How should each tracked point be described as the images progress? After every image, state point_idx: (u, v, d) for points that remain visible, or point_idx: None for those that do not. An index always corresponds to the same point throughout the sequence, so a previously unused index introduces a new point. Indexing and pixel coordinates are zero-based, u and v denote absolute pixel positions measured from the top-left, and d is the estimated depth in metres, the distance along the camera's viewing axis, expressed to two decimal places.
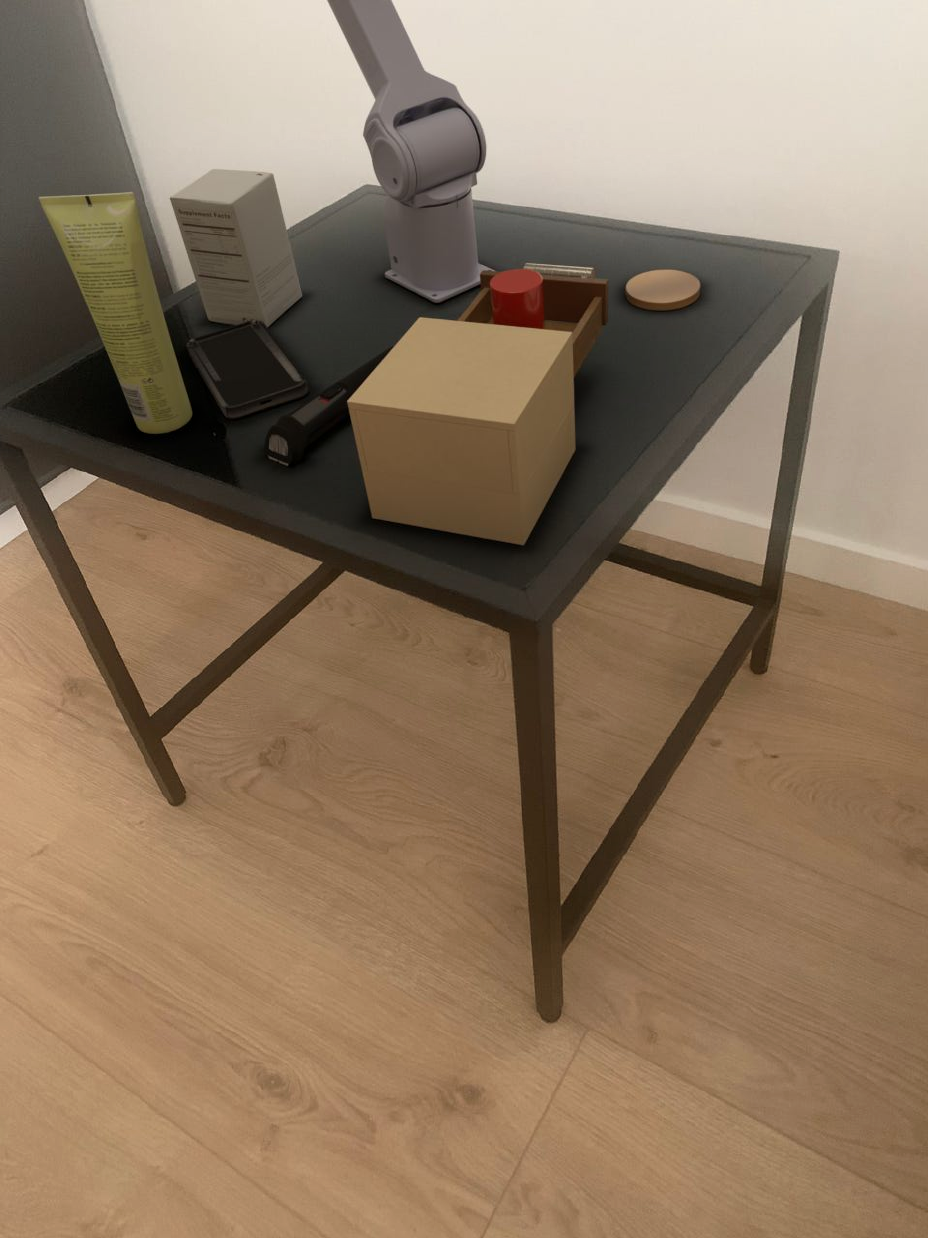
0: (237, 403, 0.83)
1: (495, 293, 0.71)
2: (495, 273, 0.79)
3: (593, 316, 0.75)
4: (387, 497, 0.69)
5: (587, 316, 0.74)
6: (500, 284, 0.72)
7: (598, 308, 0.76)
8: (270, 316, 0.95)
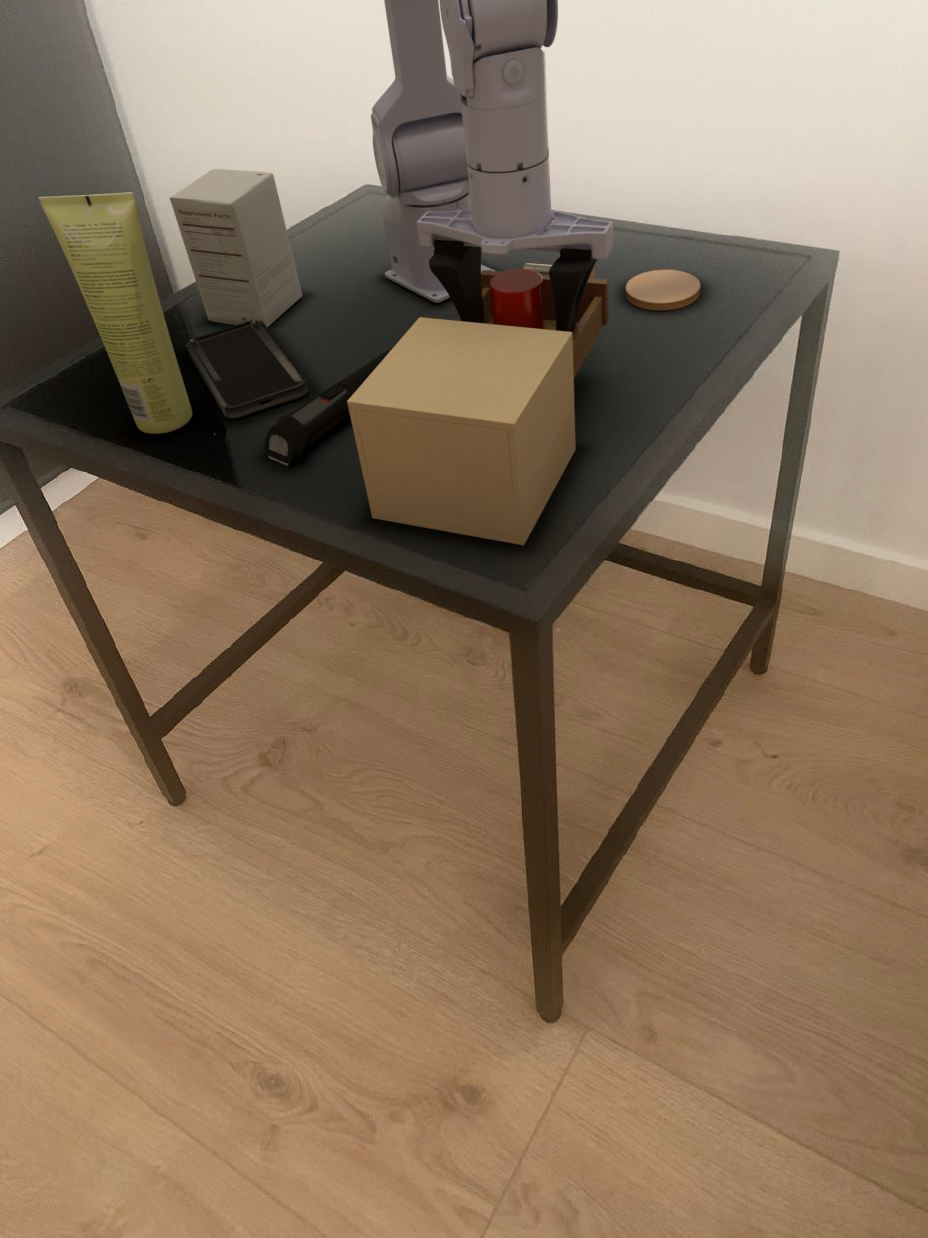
0: (237, 403, 0.83)
1: (495, 293, 0.71)
2: (495, 273, 0.79)
3: (593, 316, 0.75)
4: (387, 497, 0.69)
5: (587, 316, 0.74)
6: (500, 284, 0.72)
7: (598, 308, 0.76)
8: (270, 316, 0.95)
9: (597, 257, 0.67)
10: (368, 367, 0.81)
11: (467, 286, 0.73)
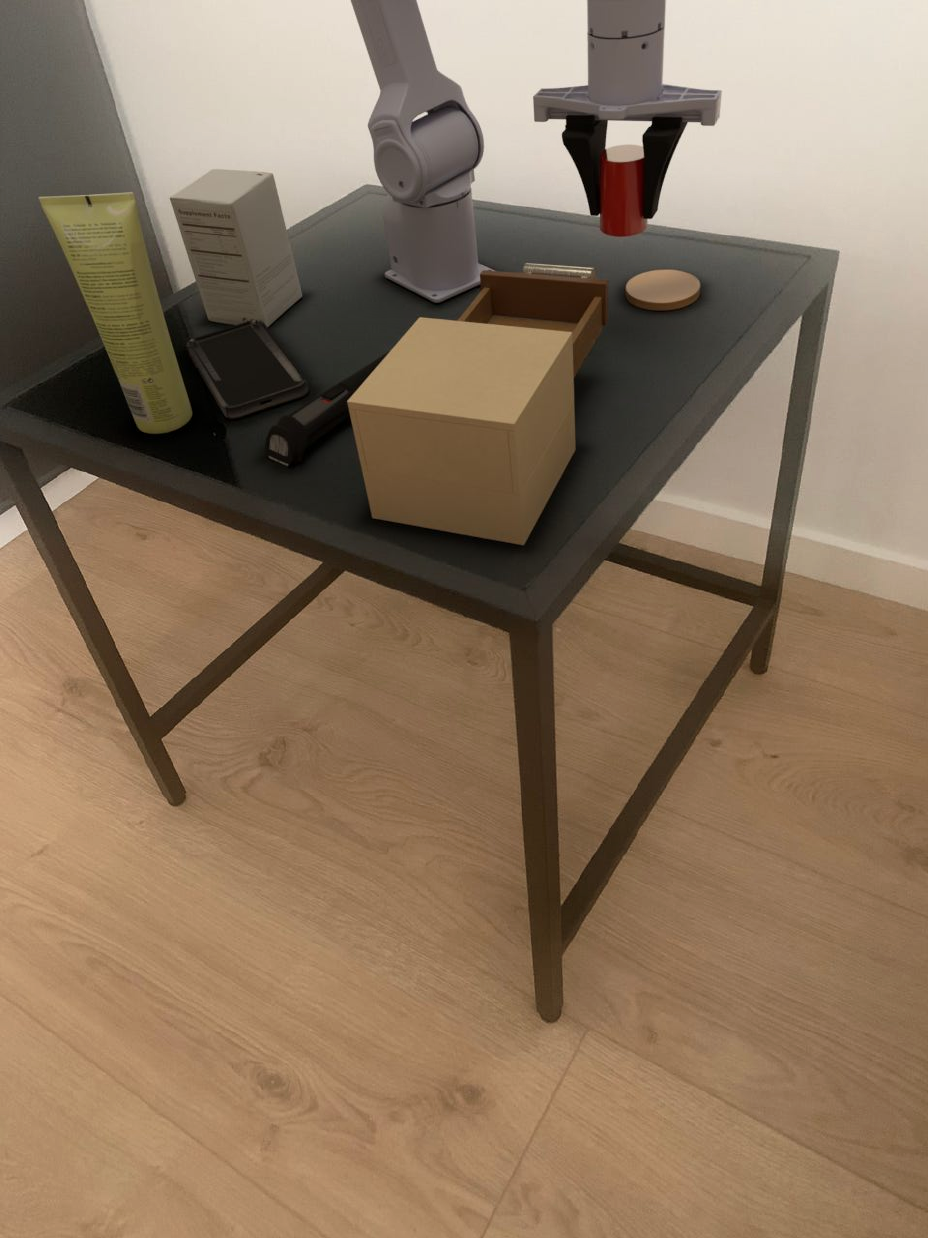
0: (237, 403, 0.83)
1: (606, 164, 0.76)
2: (495, 273, 0.79)
3: (593, 316, 0.75)
4: (387, 497, 0.69)
5: (587, 316, 0.74)
6: (610, 156, 0.77)
7: (598, 308, 0.76)
8: (270, 316, 0.95)
9: (706, 123, 0.72)
10: (370, 368, 0.81)
11: (595, 160, 0.77)
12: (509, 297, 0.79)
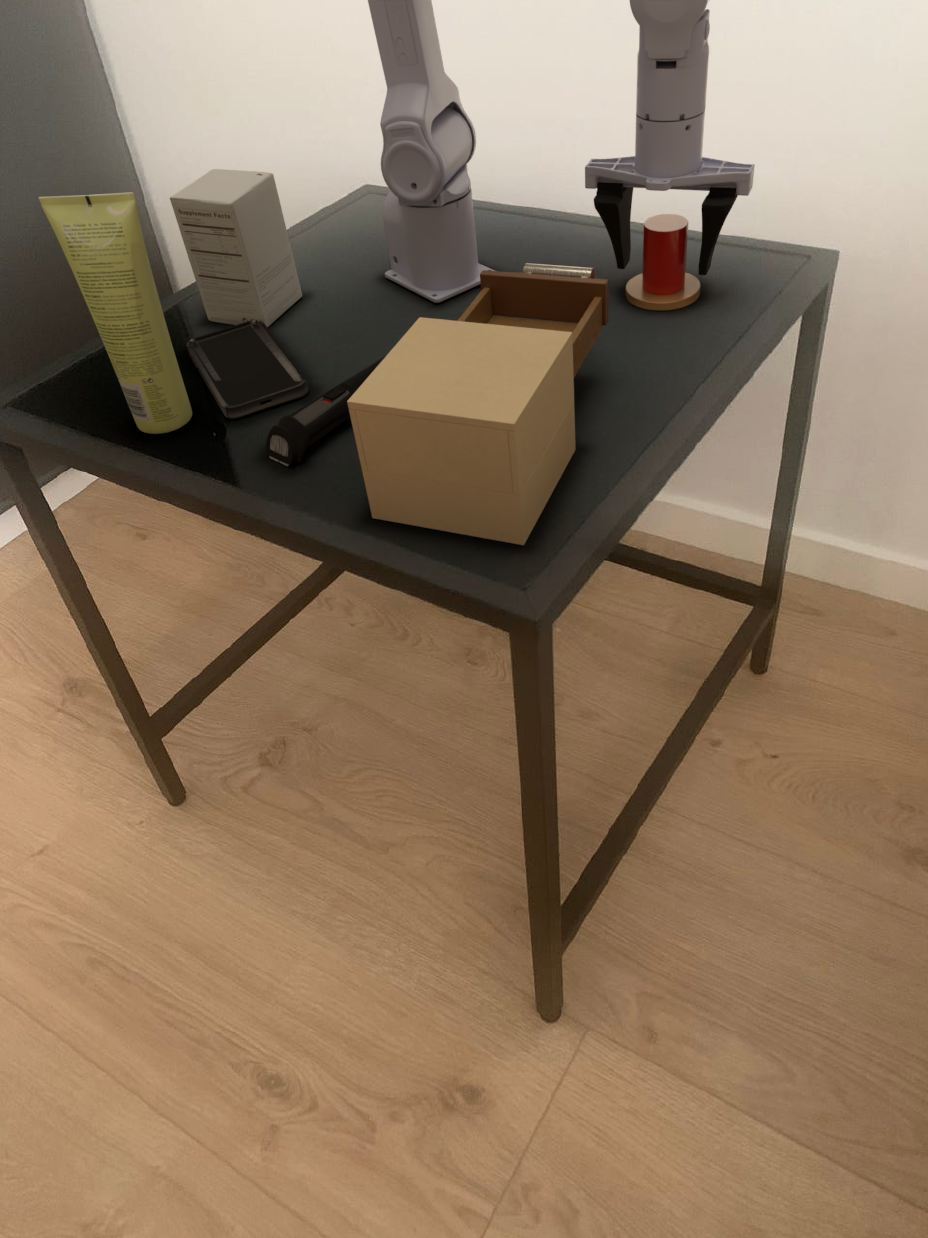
0: (237, 403, 0.83)
1: (650, 232, 0.86)
2: (495, 273, 0.79)
3: (593, 316, 0.75)
4: (387, 497, 0.69)
5: (587, 316, 0.74)
6: (653, 225, 0.86)
7: (598, 308, 0.76)
8: (270, 316, 0.95)
9: (741, 193, 0.81)
10: (372, 368, 0.81)
11: (622, 222, 0.87)
12: (509, 297, 0.79)
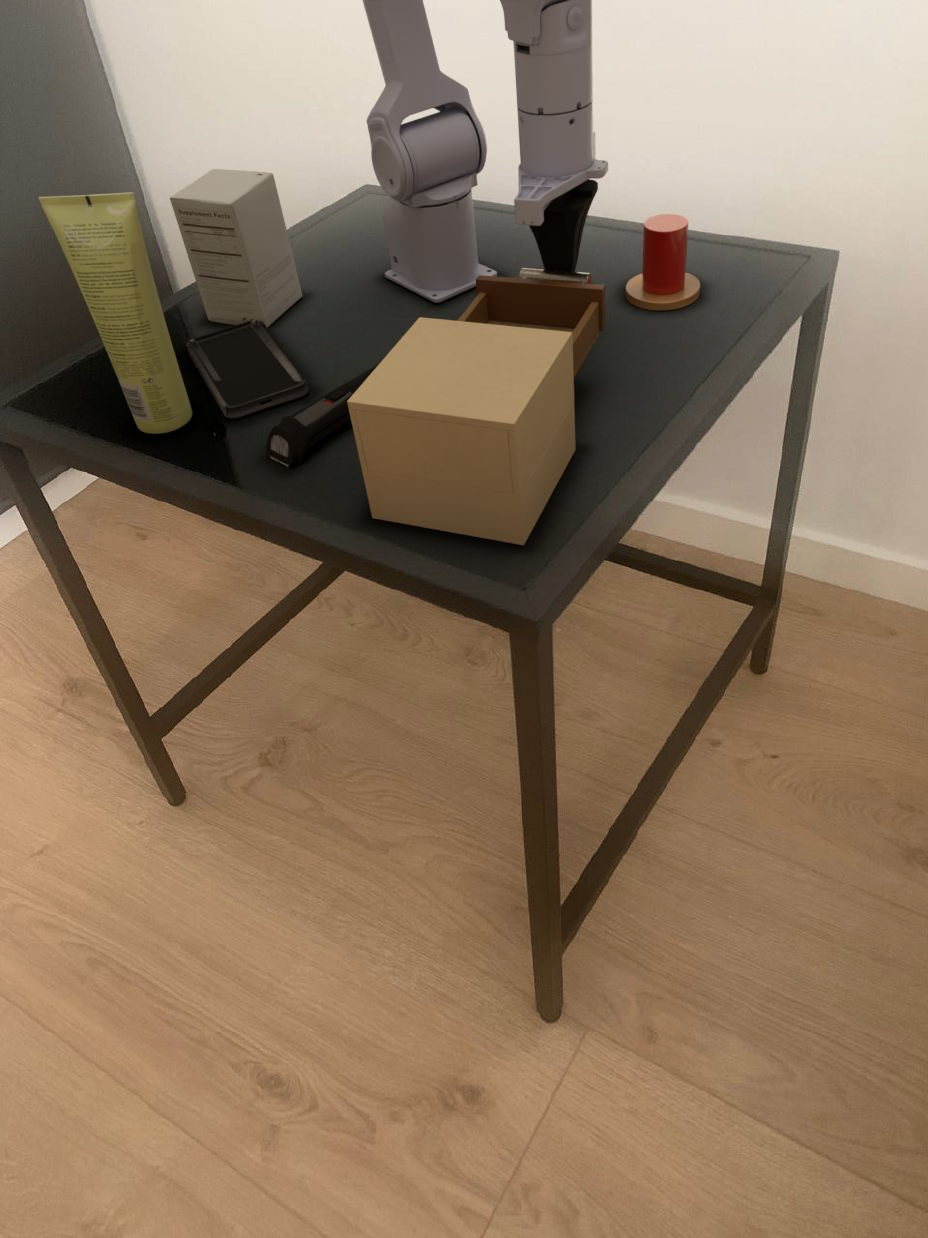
0: (237, 403, 0.83)
1: (650, 232, 0.86)
2: (491, 278, 0.78)
3: (589, 322, 0.74)
4: (387, 497, 0.69)
5: (583, 322, 0.73)
6: (653, 225, 0.86)
7: (594, 313, 0.75)
8: (270, 316, 0.95)
9: None
10: None
11: None
12: (505, 302, 0.79)
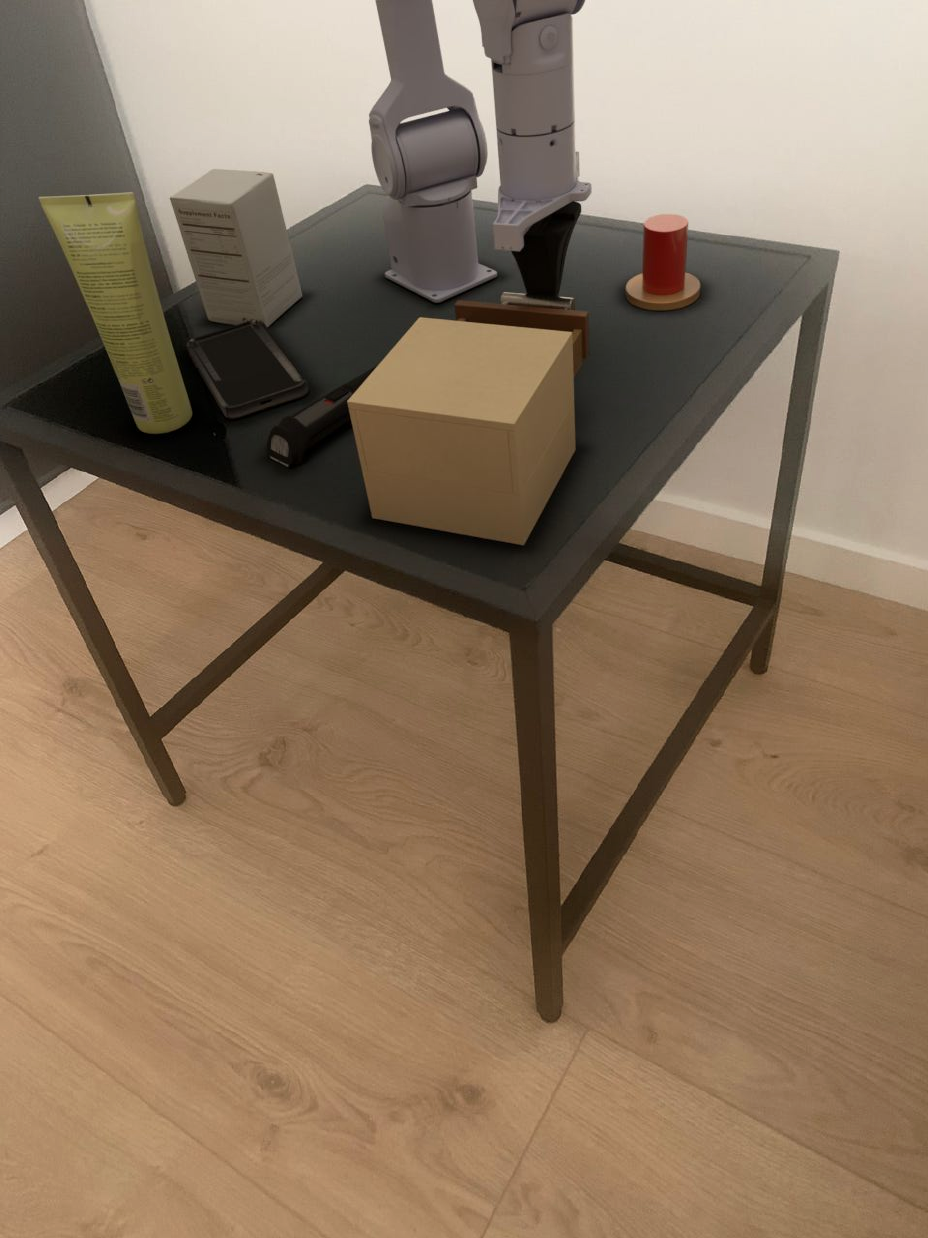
0: (237, 403, 0.83)
1: (650, 232, 0.86)
2: (470, 304, 0.75)
3: None
4: (387, 497, 0.69)
5: None
6: (653, 225, 0.86)
7: (577, 341, 0.72)
8: (270, 316, 0.95)
9: (577, 176, 0.77)
10: None
11: None
12: None
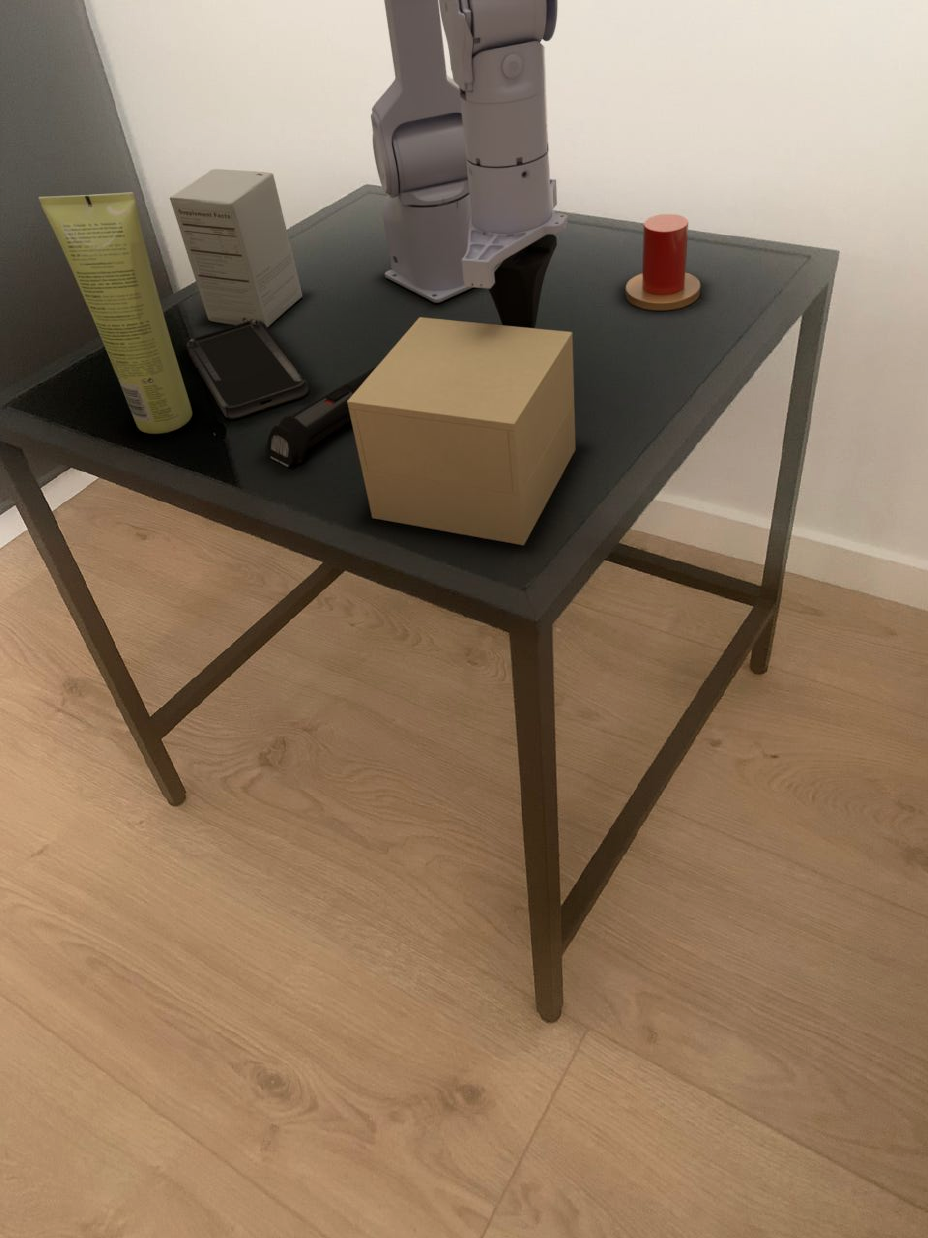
0: (237, 403, 0.83)
1: (650, 232, 0.86)
2: None
3: None
4: (387, 497, 0.69)
5: None
6: (653, 225, 0.86)
7: None
8: (270, 316, 0.95)
9: (555, 205, 0.74)
10: None
11: None
12: None
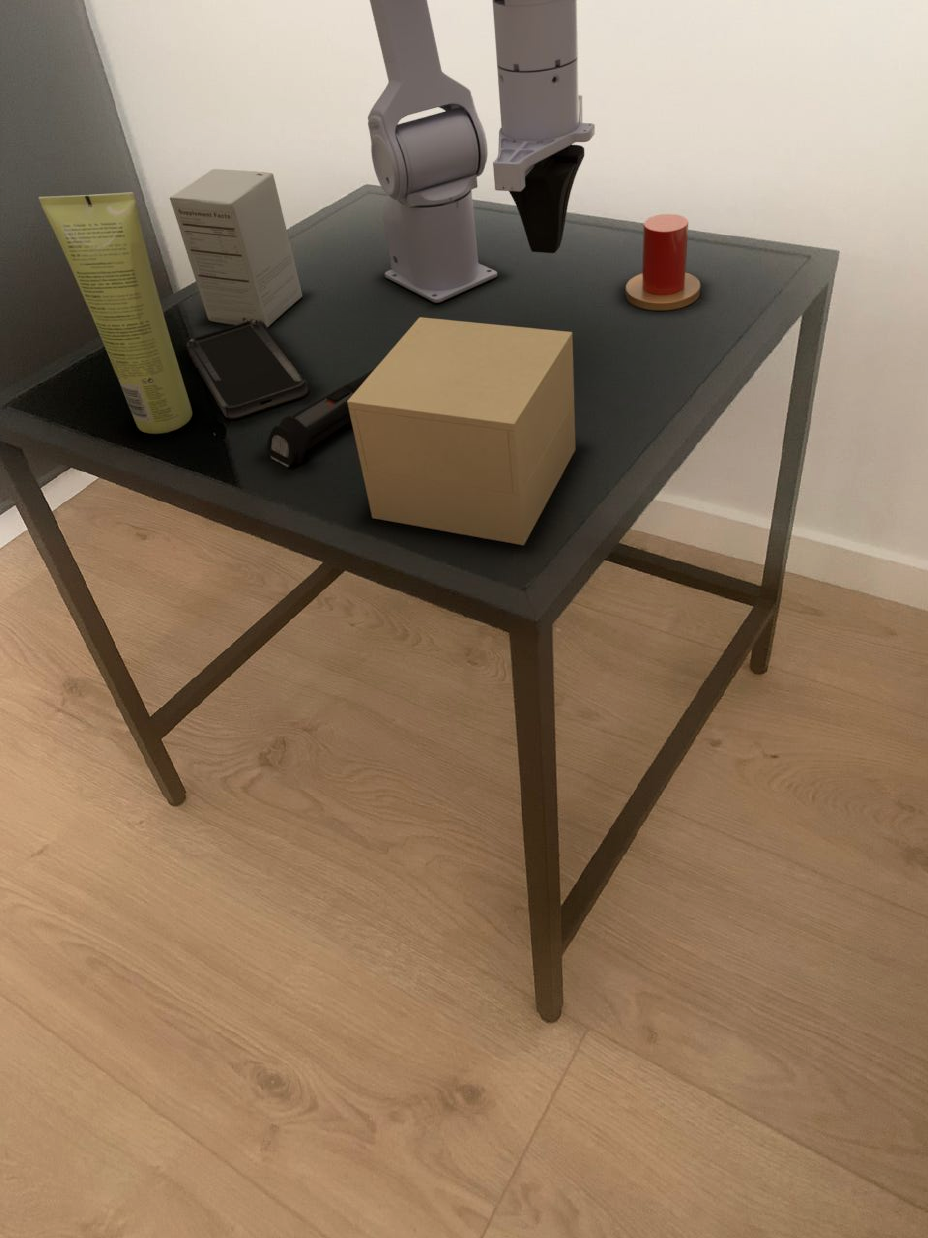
0: (237, 403, 0.83)
1: (650, 232, 0.86)
2: None
3: None
4: (387, 497, 0.69)
5: None
6: (653, 225, 0.86)
7: None
8: (270, 316, 0.95)
9: (580, 121, 0.76)
10: None
11: None
12: None
